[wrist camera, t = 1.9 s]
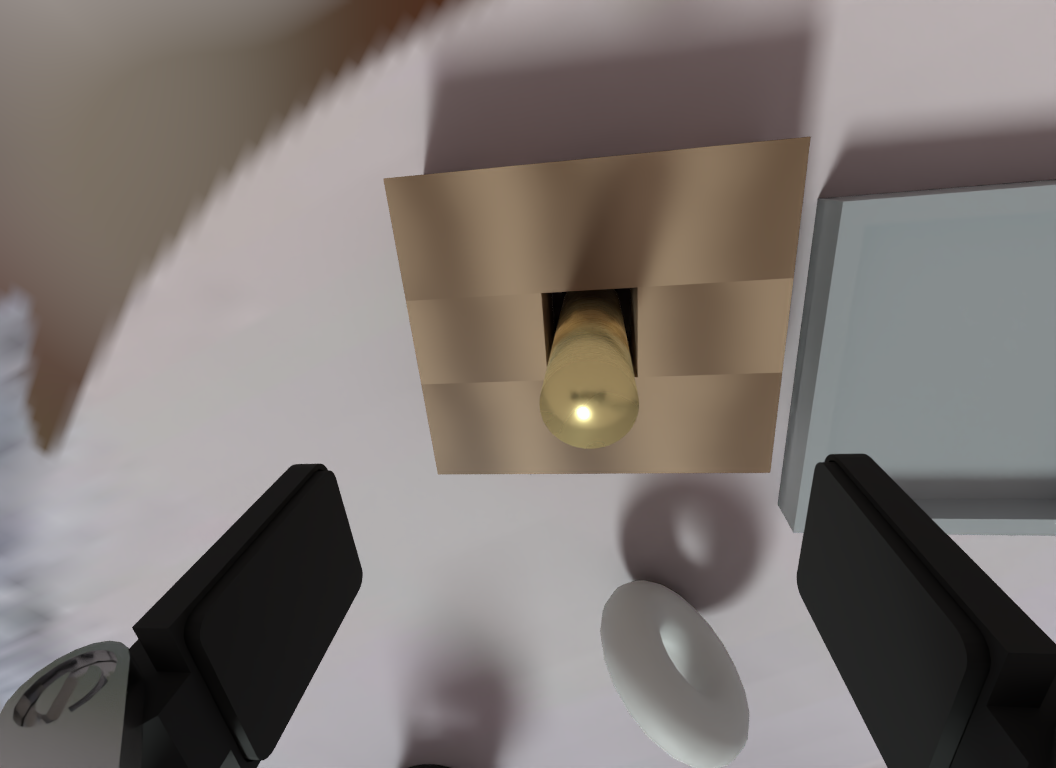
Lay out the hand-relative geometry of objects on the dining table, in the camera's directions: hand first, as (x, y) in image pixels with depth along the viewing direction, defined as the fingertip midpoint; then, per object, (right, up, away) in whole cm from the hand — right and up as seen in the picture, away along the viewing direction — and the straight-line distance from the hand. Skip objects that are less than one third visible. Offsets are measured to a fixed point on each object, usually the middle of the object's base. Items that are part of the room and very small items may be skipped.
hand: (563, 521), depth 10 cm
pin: (+3, +7, +16) cm, 18 cm away
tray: (+21, +4, +15) cm, 26 cm away
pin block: (+3, +7, +16) cm, 18 cm away
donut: (+8, -11, +23) cm, 27 cm away
